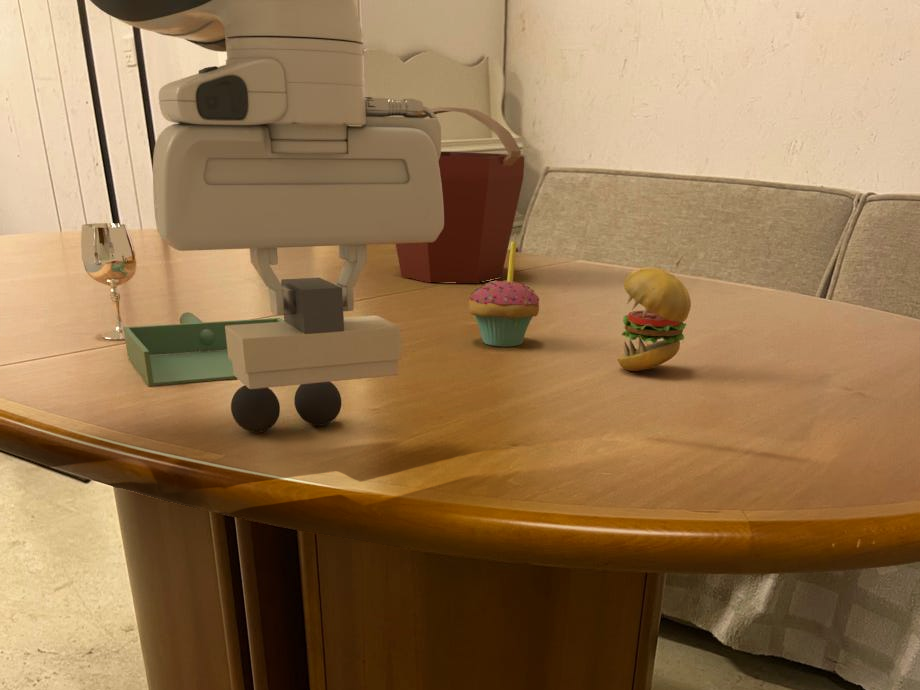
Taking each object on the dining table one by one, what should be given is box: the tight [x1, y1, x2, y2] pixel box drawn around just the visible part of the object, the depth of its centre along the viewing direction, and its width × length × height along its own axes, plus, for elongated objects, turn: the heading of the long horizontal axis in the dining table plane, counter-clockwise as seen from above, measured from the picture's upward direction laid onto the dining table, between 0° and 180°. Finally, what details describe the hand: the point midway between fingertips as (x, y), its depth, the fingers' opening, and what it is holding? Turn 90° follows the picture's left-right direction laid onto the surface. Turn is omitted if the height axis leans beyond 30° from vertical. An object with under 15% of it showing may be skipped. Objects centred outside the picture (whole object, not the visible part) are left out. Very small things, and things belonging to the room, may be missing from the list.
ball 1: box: [230, 384, 281, 433], centre depth 77 cm, size 4×4×4 cm
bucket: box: [395, 106, 525, 283], centre depth 152 cm, size 24×22×25 cm
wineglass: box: [80, 222, 137, 341], centre depth 106 cm, size 6×6×12 cm
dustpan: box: [123, 311, 285, 387], centre depth 101 cm, size 22×17×3 cm
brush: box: [225, 277, 403, 389], centre depth 69 cm, size 5×12×7 cm, turn 117°
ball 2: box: [293, 381, 342, 426], centre depth 80 cm, size 4×4×4 cm
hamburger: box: [617, 254, 692, 372], centre depth 98 cm, size 8×7×12 cm
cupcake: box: [468, 233, 540, 348], centre depth 109 cm, size 9×8×12 cm
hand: (312, 312), depth 68 cm, fingers closed on brush, 3 cm apart
